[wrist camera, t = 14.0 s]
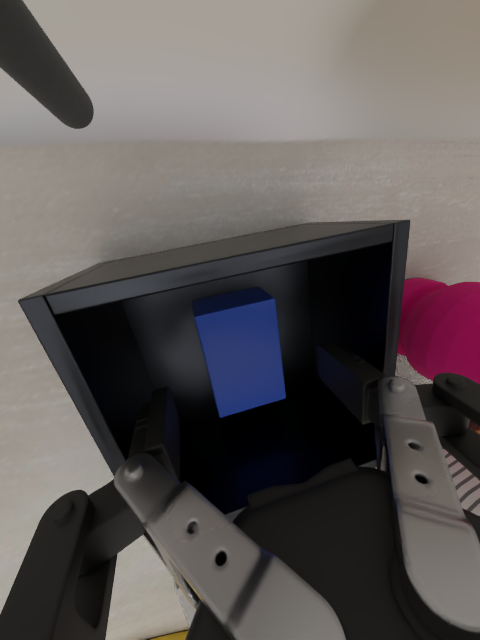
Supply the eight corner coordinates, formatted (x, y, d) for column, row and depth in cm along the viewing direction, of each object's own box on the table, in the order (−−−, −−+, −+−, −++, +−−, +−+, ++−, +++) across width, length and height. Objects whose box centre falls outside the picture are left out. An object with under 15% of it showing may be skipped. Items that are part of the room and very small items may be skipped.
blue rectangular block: (270, 373, 19) (286, 398, 16) (213, 389, 18) (219, 418, 15) (259, 285, 16) (275, 298, 13) (191, 300, 15) (194, 316, 13)
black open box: (163, 432, 19) (154, 550, 12) (97, 263, 14) (16, 300, 7) (317, 385, 21) (386, 464, 14) (309, 222, 16) (410, 219, 9)
